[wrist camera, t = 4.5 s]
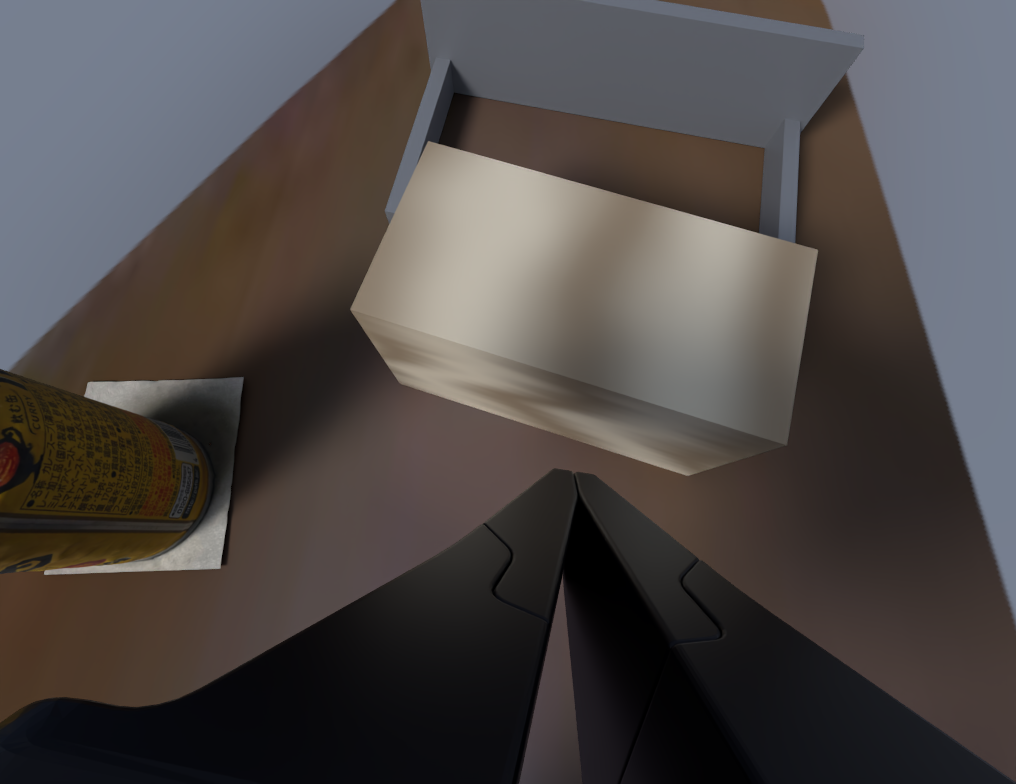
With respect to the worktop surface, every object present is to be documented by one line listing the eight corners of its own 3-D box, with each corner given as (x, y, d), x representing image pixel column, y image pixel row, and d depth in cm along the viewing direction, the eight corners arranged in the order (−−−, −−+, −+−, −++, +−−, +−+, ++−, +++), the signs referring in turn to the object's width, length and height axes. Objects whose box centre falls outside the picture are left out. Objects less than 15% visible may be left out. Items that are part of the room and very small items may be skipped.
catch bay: (777, 310, 24) (864, 240, 18) (386, 234, 25) (352, 145, 19) (786, 140, 27) (863, 35, 21) (437, 78, 28) (421, -39, 22)
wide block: (400, 384, 23) (350, 309, 15) (450, 262, 25) (428, 140, 17) (686, 476, 22) (787, 445, 14) (715, 341, 24) (818, 249, 16)
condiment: (48, 574, 20) (-550, 629, 9) (91, 383, 23) (-335, 227, 11) (223, 568, 20) (-137, 615, 9) (247, 379, 23) (-12, 222, 11)
